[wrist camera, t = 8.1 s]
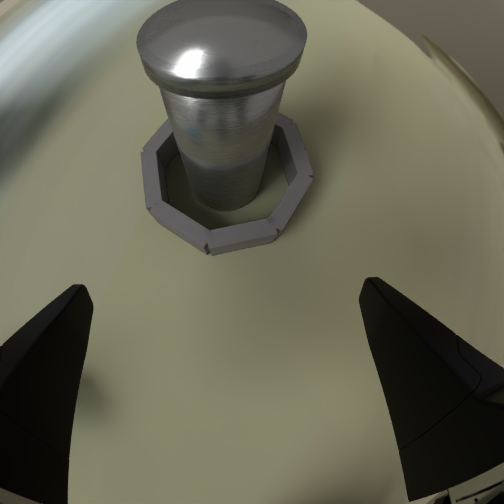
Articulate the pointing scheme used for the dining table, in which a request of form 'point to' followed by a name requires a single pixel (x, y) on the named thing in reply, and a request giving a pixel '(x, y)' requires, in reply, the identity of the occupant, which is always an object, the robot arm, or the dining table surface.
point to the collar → (233, 236)
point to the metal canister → (222, 87)
